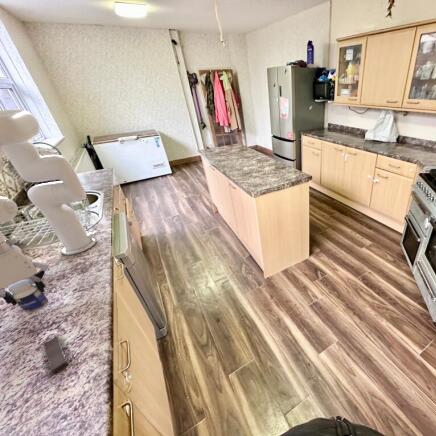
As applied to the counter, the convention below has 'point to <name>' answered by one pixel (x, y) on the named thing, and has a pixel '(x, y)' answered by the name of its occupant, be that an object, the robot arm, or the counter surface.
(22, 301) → the pill bottle
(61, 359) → the dark grey flat bar
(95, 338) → the counter surface
